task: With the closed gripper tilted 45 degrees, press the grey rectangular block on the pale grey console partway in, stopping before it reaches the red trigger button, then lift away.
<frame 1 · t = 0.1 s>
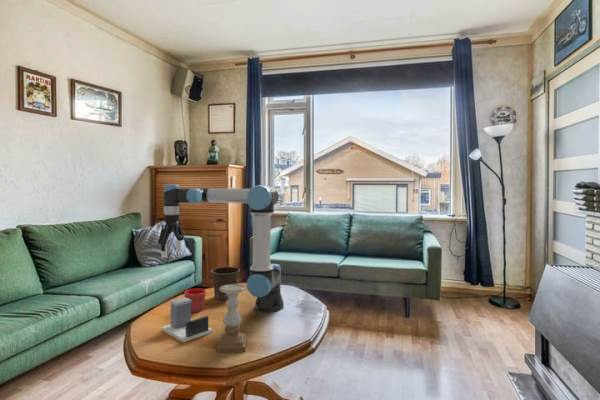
hand: (171, 255, 186), 28 cm above the table, tool pointing down, fingers open, 13 cm apart
grey rectangular block: (181, 312, 160), point 7 cm above the table, slide at 0.0 cm
plant pot: (225, 298, 204), on the table
flower pot: (195, 310, 184), on the table
candle holder: (232, 346, 143), on the table
console: (187, 331, 157), on the table
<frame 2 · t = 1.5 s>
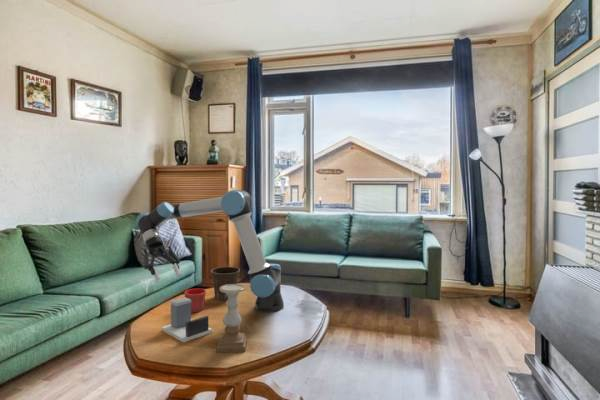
hand: (168, 277, 167), 21 cm above the table, tool tilted 45°, fingers open, 10 cm apart
nothing on the table moved.
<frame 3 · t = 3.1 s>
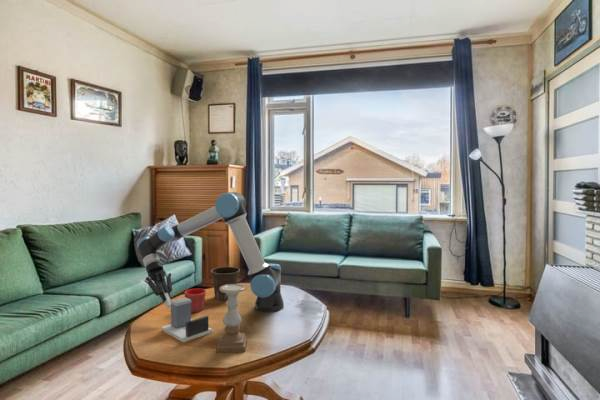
hand: (169, 306, 166), 8 cm above the table, tool tilted 45°, fingers closed
nothing on the table moved.
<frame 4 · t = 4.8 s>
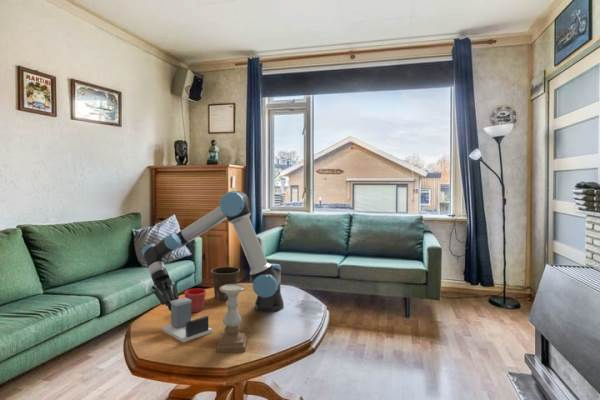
hand: (176, 315, 162), 5 cm above the table, tool tilted 45°, fingers closed
grey rectangular block: (181, 312, 160), point 7 cm above the table, slide at 0.2 cm, touching gripper
everything else where it was.
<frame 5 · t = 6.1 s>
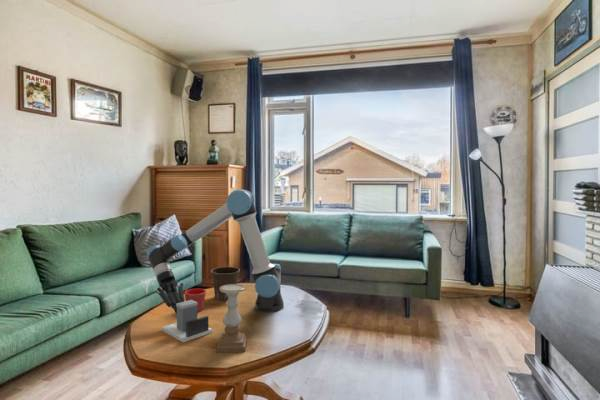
hand: (182, 318, 159), 5 cm above the table, tool tilted 45°, fingers closed
grey rectangular block: (187, 315, 157), point 7 cm above the table, slide at 5.1 cm, touching gripper
everything else where it was.
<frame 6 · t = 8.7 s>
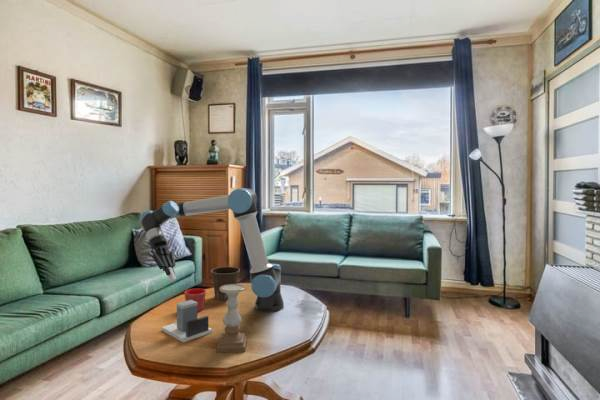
hand: (173, 280, 166), 20 cm above the table, tool tilted 40°, fingers closed
grey rectangular block: (187, 315, 157), point 7 cm above the table, slide at 5.1 cm
everything else where it was.
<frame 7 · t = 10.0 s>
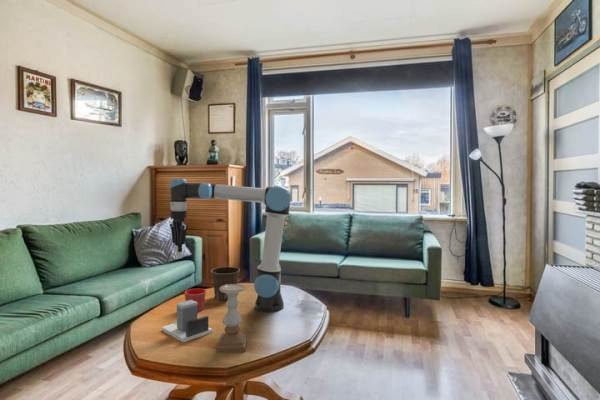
hand: (178, 258, 175), 28 cm above the table, tool pointing down, fingers closed
nothing on the table moved.
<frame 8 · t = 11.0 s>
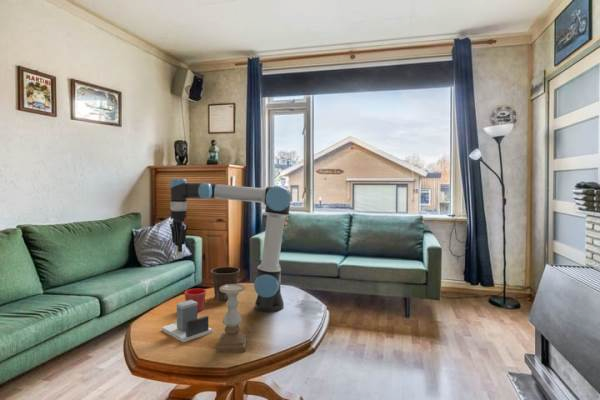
hand: (178, 258, 175), 28 cm above the table, tool pointing down, fingers closed
nothing on the table moved.
at the end: grey rectangular block slide at 5.1 cm; flower pot moved 0.2 cm from its start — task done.
